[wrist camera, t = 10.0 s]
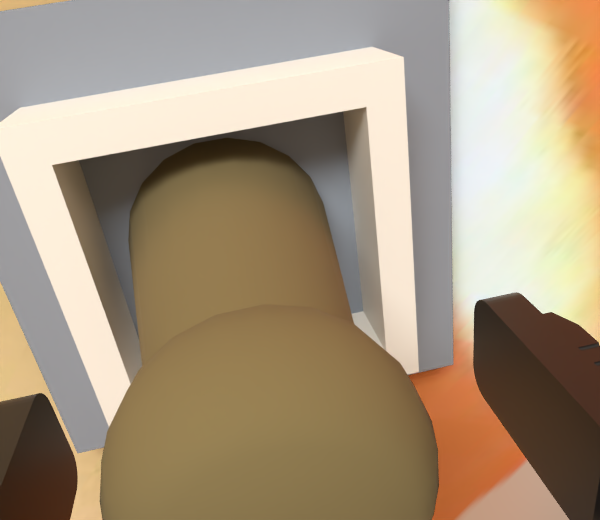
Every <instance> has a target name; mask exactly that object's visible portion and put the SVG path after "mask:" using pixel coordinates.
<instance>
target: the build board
mask: <svg viewBox="0 0 600 520" xmlns="http://www.w3.org/2000/svg"><path fill="white" fill-rule="evenodd" d="M222 138H234V139H241V140H249V141H257V142H261V143H263V144H265V145H267V146H269V147H271V148H274V149H276V150H278V151H280V152H282V153H284V154H286V155H288V156H289V157H290V158H291V159H293V160H294V161H295V162H296V163H297V164H298V165H299V166H300V167H301V168H302V169H303V170H304V171H305V172H306V173H307V174H308V175H309V176H310V177H311V179H312V181H313V183H314V185H315V187H316V189H317V191H318V193H319V195H320V197H321V199H322V201H323V204H324V208H325V212H326V215H327V219H328V223H329V227H330V231H331V235H332V239H333V243H334V247H335V251H336V255H337V259H338V263H339V267H340V270H341V274H342V278H343V282H344V286H345V290H346V294H347V298H348V302H349V306H350V310H351V314H352V318H353V321H354V324H355V325H356V326H357V327H358V328H359V329H361V330H362V331H363V332H364V333H365V334H367V335H368V336H369V337H370V338H371V339H373V340H374V341H375V342H376V343H377V344H378V345H380V346H381V347H382V348H383V349H384V350H386V351H387V352H388V353H389V354H390V355H391V356H393V357H394V358H395V359H396V360H397V361H398V362H400V363H401V365H402V367H403V368H404V370H405V372H406V373H407V375H411V374H415V373H419V372H424V371H428V370H432V369H436V368H441V367H445V366H449V365H453V295H452V210H451V126H450V41H449V0H70V1H64V2H58V3H51V4H45V5H38V6H32V7H26V8H19V9H13V10H6V11H0V282H1V284H2V286H3V289H4V291H5V293H6V295H7V297H8V300H9V302H10V304H11V306H12V309H13V311H14V313H15V315H16V317H17V320H18V322H19V324H20V326H21V329H22V331H23V333H24V335H25V337H26V340H27V342H28V344H29V346H30V349H31V351H32V353H33V355H34V357H35V360H36V362H37V364H38V366H39V369H40V371H41V373H42V375H43V377H44V380H45V382H46V384H47V386H48V389H49V391H50V393H51V395H52V397H53V400H54V402H55V404H56V406H57V409H58V411H59V413H60V415H61V417H62V420H63V422H64V424H65V426H66V429H67V431H68V433H69V435H70V437H71V440H72V442H73V444H74V446H75V449H76V451H77V453H82V452H86V451H90V450H94V449H98V448H103V447H104V445H105V440H106V435H107V431H108V429H109V426H110V424H111V422H112V420H113V418H114V416H115V414H116V412H117V410H118V408H119V406H120V404H121V402H122V400H123V398H124V396H125V394H126V391H127V390H128V388H129V386H130V384H131V383H132V381H133V379H134V378H135V376H136V374H137V372H138V371H139V369H140V368H141V367H142V361H141V352H140V343H139V334H138V325H137V316H136V307H135V298H134V289H133V279H132V270H131V261H130V252H129V243H128V237H129V218H130V210H131V208H132V205H133V203H134V201H135V199H136V196H137V194H138V192H139V189H140V187H141V185H142V183H143V182H144V181H145V180H146V178H147V177H148V176H149V175H150V174H151V173H152V172H153V171H154V170H155V169H156V168H157V167H158V166H159V164H160V163H161V162H162V161H163V160H164V159H166V158H168V157H170V156H172V155H173V154H175V153H177V152H179V151H181V150H183V149H185V148H186V147H188V146H190V145H192V144H194V143H200V142H205V141H211V140H216V139H222Z"/></svg>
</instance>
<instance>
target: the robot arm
mask: <svg viewBox="0 0 600 520" xmlns="http://www.w3.org/2000/svg"><path fill="white" fill-rule="evenodd" d="M473 366H474V374H475V378H476V382H477V385H478V387H479V390H480V392H481V394H482V396H483V397H484V399H485V400H486V402H487V403H488V404H489V406H490V407H491V409H492V410H493V412H494V413H495V414H496V416H497V417H498V419H499V420H500V421H501V423H502V424H503V426H504V427H505V429H506V430H507V431H508V433H509V434H510V436H511V437H512V439H513V440H514V441H515V443H516V444H517V446H518V447H519V449H520V450H521V451H522V453H523V454H524V456H525V457H526V458H527V460H528V461H529V463H530V464H531V465H532V467H533V468H534V469H535V471H536V473H537V474H538V475H539V477H540V478H541V480H542V481H543V483H544V484H545V485H546V487H547V488H548V490H549V491H550V493H551V494H552V495H553V497H554V498H555V500H556V501H557V503H558V504H559V505H560V507H561V508H562V509H563V511H564V512H565V513H566V515H567V517H568V518H569V519H570V520H600V346H599V342H597V341H596V340H595V339H594V338H593V337H592V336H591V335H590V334H588V333H587V332H586V331H585V330H584V329H583V328H582V327H581V326H579V325H578V324H576V323H574V322H571V321H569V320H567V319H565V318H563V317H561V316H559V315H556V314H554V313H552V312H550V313H545V314H542V313H541V312H540V311H539V310H538V309H537V308H536V307H534V306H533V305H532V304H531V303H530V302H529V301H528V300H527V299H526V298H525V297H524V296H523V295H521V294H520V293H511V294H506V295H502V296H497V297H492V298H488V299H483V300H479V301H477V303H476V305H475V309H474V357H473ZM76 490H77V467H76V461H75V458H74V455H73V452H72V450H71V448H70V445H69V443H68V441H67V439H66V437H65V434H64V432H63V430H62V428H61V426H60V423H59V421H58V419H57V417H56V414H55V412H54V410H53V408H52V406H51V403H50V401H49V400H48V398H47V397H46V396H45V395H44V394H42V393H39V394H35V395H30V396H25V397H21V398H16V399H11V400H7V401H2V402H0V520H70V517H71V513H72V508H73V504H74V500H75V495H76Z"/></svg>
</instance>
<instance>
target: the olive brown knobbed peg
mask: <svg viewBox="0 0 600 520" xmlns="http://www.w3.org/2000/svg"><path fill="white" fill-rule="evenodd" d="M128 243H129V252H130V261H131V270H132V279H133V289H134V298H135V307H136V316H137V325H138V334H139V343H140V352H141V361H142V367H141V368H140V369H139V371H138V372H137V374H136V376H135V378H134V379H133V381H132V383H131V384H130V386H129V388H128V390H127V391H126V394H125V396H124V398H123V400H122V402H121V404H120V406H119V408H118V410H117V412H116V414H115V416H114V418H113V420H112V422H111V424H110V426H109V429H108V431H107V435H106V440H105V445H104V450H103V455H102V460H101V486H100V506H101V513H102V519H103V520H432V517H433V514H434V510H435V504H436V498H437V493H438V487H439V476H438V448H437V444H436V439H435V434H434V430H433V425H432V421H431V419H430V417H429V415H428V413H427V411H426V409H425V407H424V405H423V403H422V401H421V399H420V397H419V395H418V393H417V391H416V389H415V387H414V385H413V383H412V382H411V380H410V378H409V377H408V375H407V373H406V372H405V370H404V368H403V367H402V365H401V363H400V362H398V361H397V360H396V359H395V358H394V357H393V356H391V355H390V354H389V353H388V352H387V351H386V350H384V349H383V348H382V347H381V346H380V345H378V344H377V343H376V342H375V341H374V340H373V339H371V338H370V337H369V336H368V335H367V334H365V333H364V332H363V331H362V330H361V329H359V328H358V327H357V326H356V325H355V324H354V321H353V318H352V314H351V310H350V306H349V302H348V298H347V294H346V290H345V286H344V282H343V278H342V274H341V270H340V267H339V263H338V259H337V255H336V251H335V247H334V243H333V239H332V235H331V231H330V227H329V223H328V219H327V215H326V212H325V208H324V204H323V201H322V199H321V197H320V195H319V193H318V191H317V189H316V187H315V185H314V183H313V181H312V179H311V177H310V176H309V175H308V174H307V173H306V172H305V171H304V170H303V169H302V168H301V167H300V166H299V165H298V164H297V163H296V162H295V161H294V160H293V159H291V158H290V157H289V156H288V155H286V154H284V153H282V152H280V151H278V150H276V149H274V148H271V147H269V146H267V145H265V144H263V143H261V142H257V141H249V140H241V139H234V138H222V139H216V140H211V141H205V142H200V143H194V144H192V145H190V146H188V147H186V148H185V149H183V150H181V151H179V152H177V153H175V154H173V155H172V156H170V157H168V158H166V159H164V160H163V161H162V162H161V163H160V164H159V166H158V167H157V168H156V169H155V170H154V171H153V172H152V173H151V174H150V175H149V176H148V177H147V178H146V180H145V181H144V182H143V183H142V185H141V187H140V189H139V192H138V194H137V196H136V199H135V201H134V203H133V205H132V208H131V210H130V218H129V237H128Z"/></svg>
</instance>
